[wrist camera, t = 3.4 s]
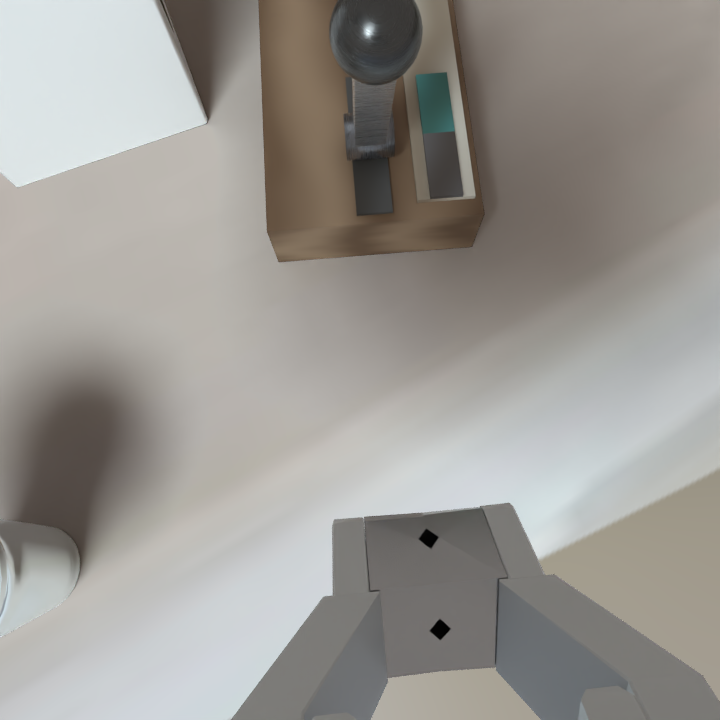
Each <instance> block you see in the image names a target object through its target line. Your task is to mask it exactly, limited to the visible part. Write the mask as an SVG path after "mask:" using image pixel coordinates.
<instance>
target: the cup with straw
mask: <svg viewBox="0 0 720 720" xmlns="http://www.w3.org/2000/svg"><path fill="white" fill-rule="evenodd" d="M79 572H80V556H79V552H78V549H77V546H76V544H75V543H74V541H73V539H72V538H71V537H70V536H69V535H68V534H67V533H65V532H64V531H62V530H60V529H58V528H55V527H51V526H43V525H38V524H31V523H24V522H18V521H11V520H4V519H0V638H1V637H3V636H5V635H7V634H8V633H10V632H12V631H14V630H16V629H18V628H20V627H21V626H23V625H25V624H27V623H29V622H31V621H32V620H34V619H36V618H38V617H40V616H42V615H43V614H45V613H46V612H48V611H50V610H52V609H54V608H56V607H57V606H59V605H60V604H61V603H63V602H64V601H65V599H66V598H67V597H68V596H69V595H70V593H71V592H72V590H73V589H74V587H75V585H76V582H77V580H78V576H79Z"/></svg>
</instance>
